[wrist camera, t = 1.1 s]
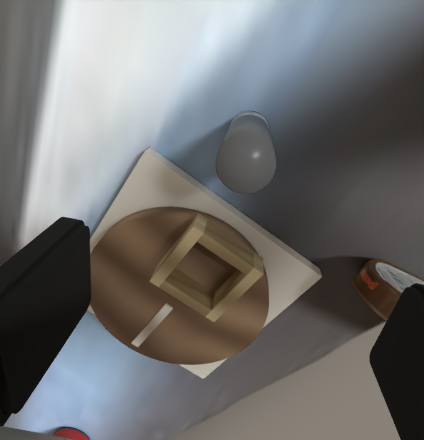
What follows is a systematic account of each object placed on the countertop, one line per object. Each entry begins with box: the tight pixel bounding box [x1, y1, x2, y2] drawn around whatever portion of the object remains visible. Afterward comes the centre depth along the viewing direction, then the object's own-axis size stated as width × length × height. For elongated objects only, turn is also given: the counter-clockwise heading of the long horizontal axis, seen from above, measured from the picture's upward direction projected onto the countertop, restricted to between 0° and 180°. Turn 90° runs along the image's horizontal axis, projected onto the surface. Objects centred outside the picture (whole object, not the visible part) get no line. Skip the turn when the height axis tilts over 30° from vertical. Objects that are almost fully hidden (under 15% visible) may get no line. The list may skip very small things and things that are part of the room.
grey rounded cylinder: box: [216, 111, 276, 194], centre depth 24 cm, size 4×4×10 cm
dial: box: [90, 206, 269, 365], centre depth 32 cm, size 19×19×4 cm
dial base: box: [87, 147, 322, 379], centre depth 35 cm, size 21×21×2 cm
